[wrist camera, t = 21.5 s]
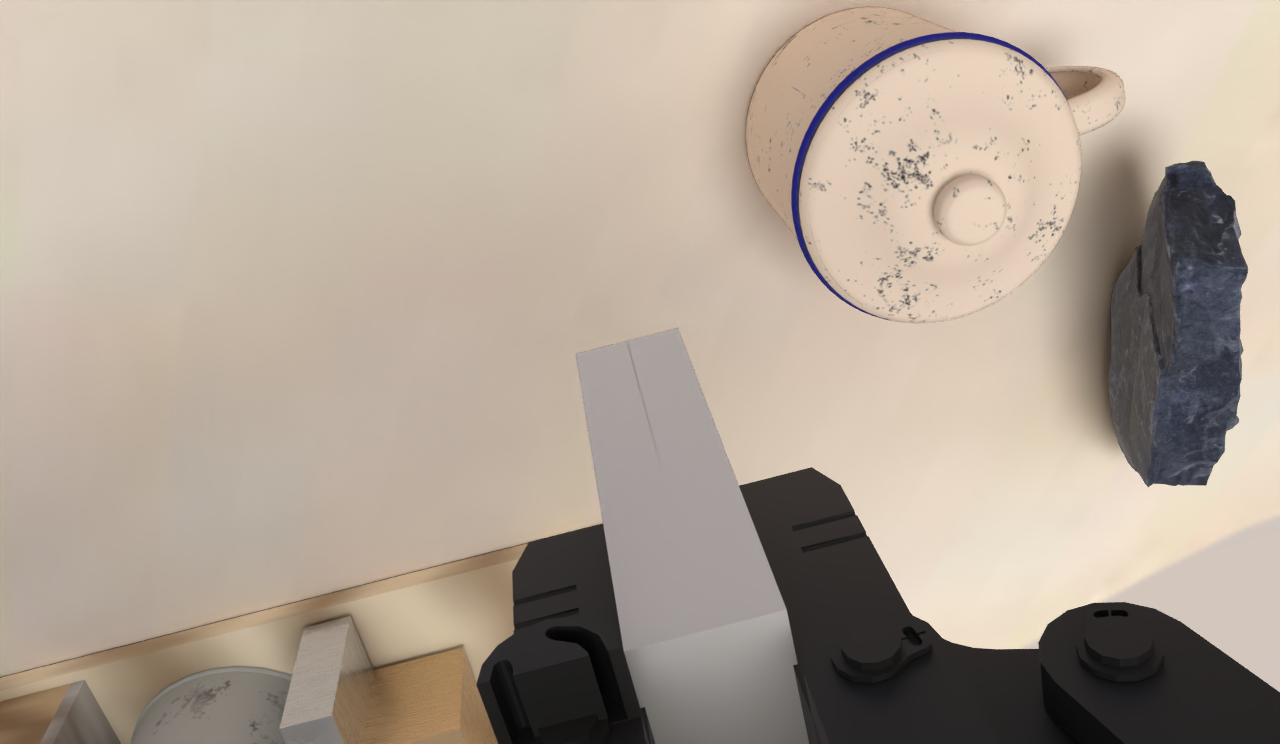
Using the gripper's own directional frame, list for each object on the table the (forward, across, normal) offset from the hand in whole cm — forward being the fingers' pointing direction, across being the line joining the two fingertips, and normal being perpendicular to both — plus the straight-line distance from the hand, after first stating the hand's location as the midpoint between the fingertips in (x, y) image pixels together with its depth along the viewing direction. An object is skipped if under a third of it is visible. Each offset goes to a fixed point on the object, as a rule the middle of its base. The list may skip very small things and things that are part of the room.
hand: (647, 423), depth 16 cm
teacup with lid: (+27, +12, -4) cm, 29 cm away
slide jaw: (+25, -13, -25) cm, 38 cm away
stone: (+27, +20, -14) cm, 36 cm away
